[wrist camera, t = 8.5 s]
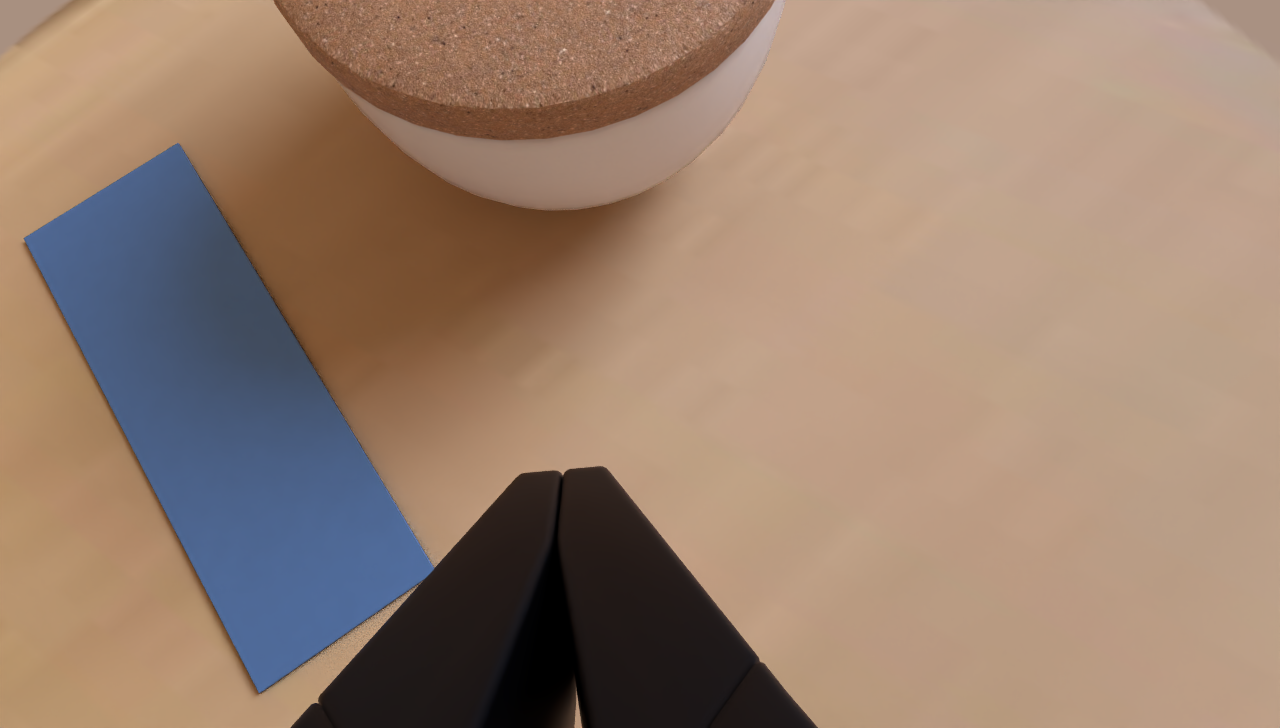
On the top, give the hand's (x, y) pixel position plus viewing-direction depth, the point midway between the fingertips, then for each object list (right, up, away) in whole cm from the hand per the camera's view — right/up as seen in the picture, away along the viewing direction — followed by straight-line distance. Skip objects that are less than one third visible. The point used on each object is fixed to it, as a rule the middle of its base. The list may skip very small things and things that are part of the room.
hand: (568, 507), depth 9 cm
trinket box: (-1, +9, +16) cm, 18 cm away
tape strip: (-10, +1, +14) cm, 17 cm away
